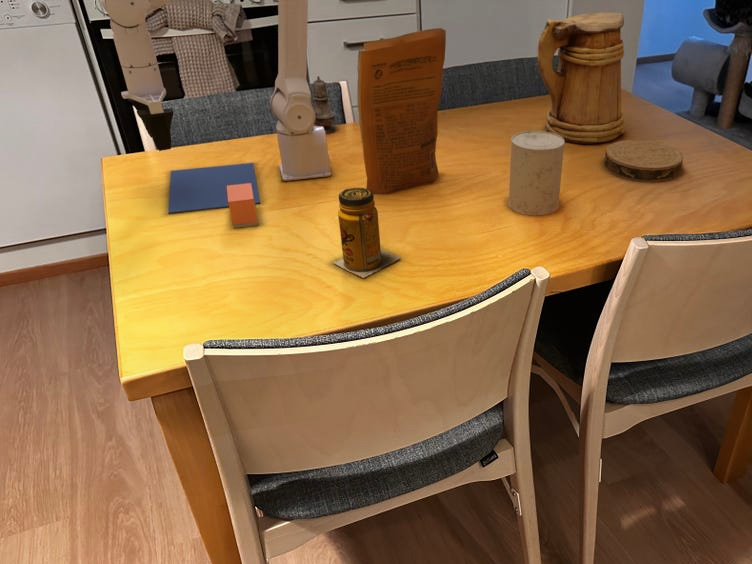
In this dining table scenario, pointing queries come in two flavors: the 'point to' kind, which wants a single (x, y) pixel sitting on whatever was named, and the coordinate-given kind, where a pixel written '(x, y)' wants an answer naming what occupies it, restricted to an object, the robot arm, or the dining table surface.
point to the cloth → (208, 187)
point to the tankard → (584, 76)
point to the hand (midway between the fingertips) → (160, 142)
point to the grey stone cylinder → (535, 172)
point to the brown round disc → (643, 160)
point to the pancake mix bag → (400, 108)
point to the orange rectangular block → (242, 205)
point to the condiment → (361, 233)
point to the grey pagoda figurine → (322, 107)
